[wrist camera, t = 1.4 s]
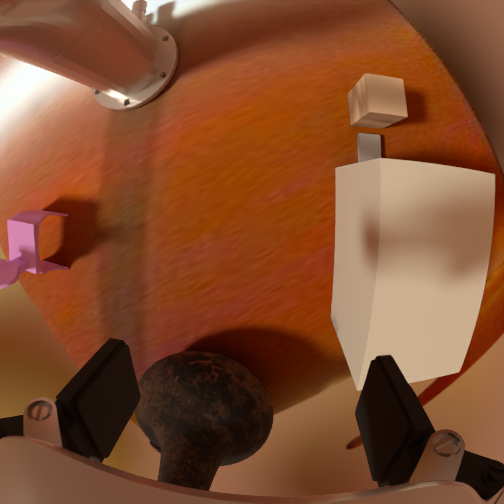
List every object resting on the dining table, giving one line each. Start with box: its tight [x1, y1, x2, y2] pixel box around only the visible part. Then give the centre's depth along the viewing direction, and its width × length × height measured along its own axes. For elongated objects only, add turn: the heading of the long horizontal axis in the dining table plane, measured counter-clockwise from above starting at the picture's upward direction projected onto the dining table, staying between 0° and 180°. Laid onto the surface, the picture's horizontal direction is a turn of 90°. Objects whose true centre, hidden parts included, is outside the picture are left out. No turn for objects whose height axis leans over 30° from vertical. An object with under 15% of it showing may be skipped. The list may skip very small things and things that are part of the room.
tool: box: [348, 73, 408, 163], centre depth 26 cm, size 20×4×7 cm, turn 2°
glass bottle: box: [135, 351, 273, 491], centre depth 24 cm, size 18×18×28 cm
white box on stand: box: [331, 158, 495, 390], centre depth 24 cm, size 18×14×14 cm
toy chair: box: [0, 210, 69, 289], centre depth 27 cm, size 8×9×15 cm
